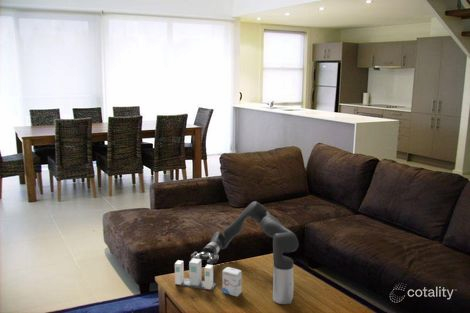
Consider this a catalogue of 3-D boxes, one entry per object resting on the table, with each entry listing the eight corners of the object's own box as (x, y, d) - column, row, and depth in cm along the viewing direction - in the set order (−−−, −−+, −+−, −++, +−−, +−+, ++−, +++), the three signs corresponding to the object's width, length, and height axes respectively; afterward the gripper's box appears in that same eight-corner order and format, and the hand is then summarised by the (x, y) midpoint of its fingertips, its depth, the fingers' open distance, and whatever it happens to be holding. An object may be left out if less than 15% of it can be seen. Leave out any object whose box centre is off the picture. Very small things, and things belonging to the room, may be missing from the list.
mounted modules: (213, 285, 217) (213, 265, 215) (210, 289, 214) (210, 268, 212) (178, 280, 223) (178, 260, 221) (175, 283, 219) (174, 263, 217)
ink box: (221, 292, 213) (221, 270, 210) (226, 288, 217) (226, 266, 215) (237, 297, 209) (237, 274, 206) (241, 292, 213) (242, 270, 211)
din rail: (216, 284, 220) (216, 283, 220) (212, 290, 215) (212, 288, 215) (180, 279, 226) (180, 277, 226) (175, 284, 221) (175, 282, 220)
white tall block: (201, 281, 222) (201, 259, 220) (197, 285, 217) (197, 263, 215) (193, 280, 223) (193, 258, 221) (189, 284, 218) (189, 262, 216)
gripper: (198, 242, 241) (187, 254, 226) (222, 246, 237) (212, 257, 222) (198, 255, 242) (187, 267, 227) (222, 258, 238) (212, 271, 223)
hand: (199, 262), depth 224 cm, fingers open, 8 cm apart
